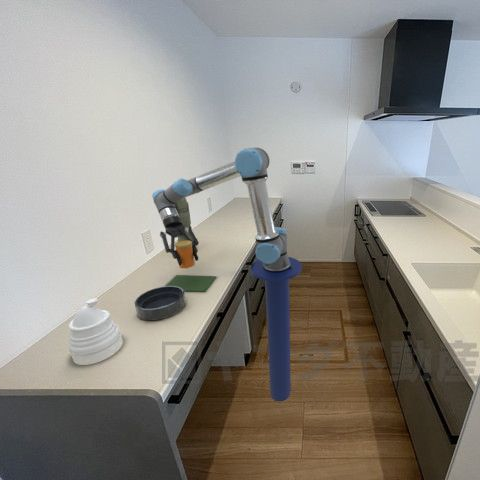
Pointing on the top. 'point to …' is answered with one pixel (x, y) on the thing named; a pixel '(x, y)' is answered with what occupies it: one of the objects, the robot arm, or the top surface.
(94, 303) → the honey pot
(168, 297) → the bowl
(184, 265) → the tea tin
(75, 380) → the top surface
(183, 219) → the green elongated piece
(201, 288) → the mat
